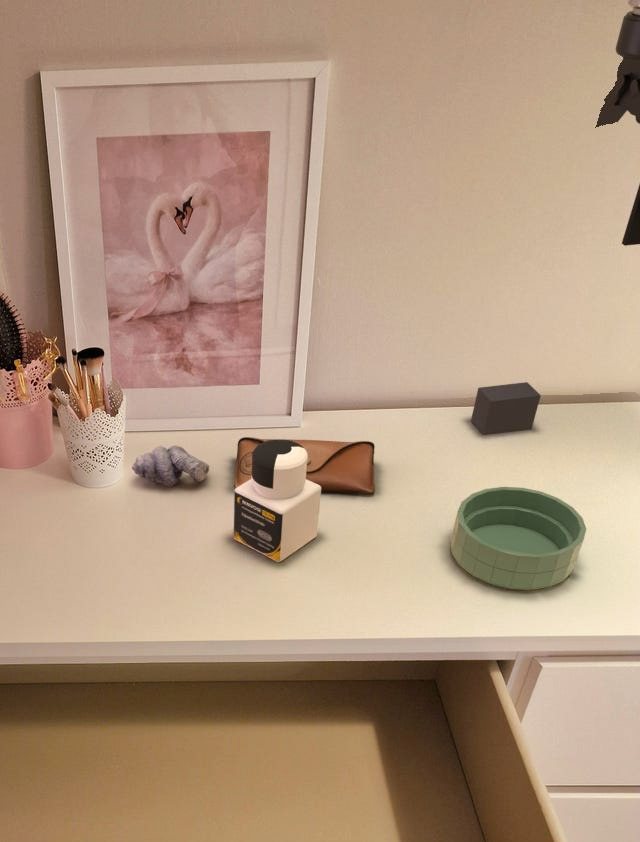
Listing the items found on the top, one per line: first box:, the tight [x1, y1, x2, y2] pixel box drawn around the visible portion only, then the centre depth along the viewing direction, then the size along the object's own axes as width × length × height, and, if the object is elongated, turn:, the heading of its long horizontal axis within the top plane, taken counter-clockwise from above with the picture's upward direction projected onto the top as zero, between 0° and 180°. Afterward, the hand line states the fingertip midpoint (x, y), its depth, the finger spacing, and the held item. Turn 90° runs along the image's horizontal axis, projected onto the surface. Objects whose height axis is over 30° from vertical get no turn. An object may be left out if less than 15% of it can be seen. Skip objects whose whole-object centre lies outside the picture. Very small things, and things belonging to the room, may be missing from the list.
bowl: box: [450, 486, 587, 591], centre depth 97 cm, size 13×13×5 cm
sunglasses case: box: [234, 436, 376, 494], centre depth 111 cm, size 18×7×7 cm
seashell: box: [131, 444, 210, 488], centre depth 111 cm, size 5×5×10 cm
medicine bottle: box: [233, 438, 322, 563], centre depth 99 cm, size 7×7×12 cm
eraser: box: [470, 381, 542, 435], centre depth 118 cm, size 7×4×5 cm, turn 99°
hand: (603, 225), depth 105 cm, fingers open, 13 cm apart
